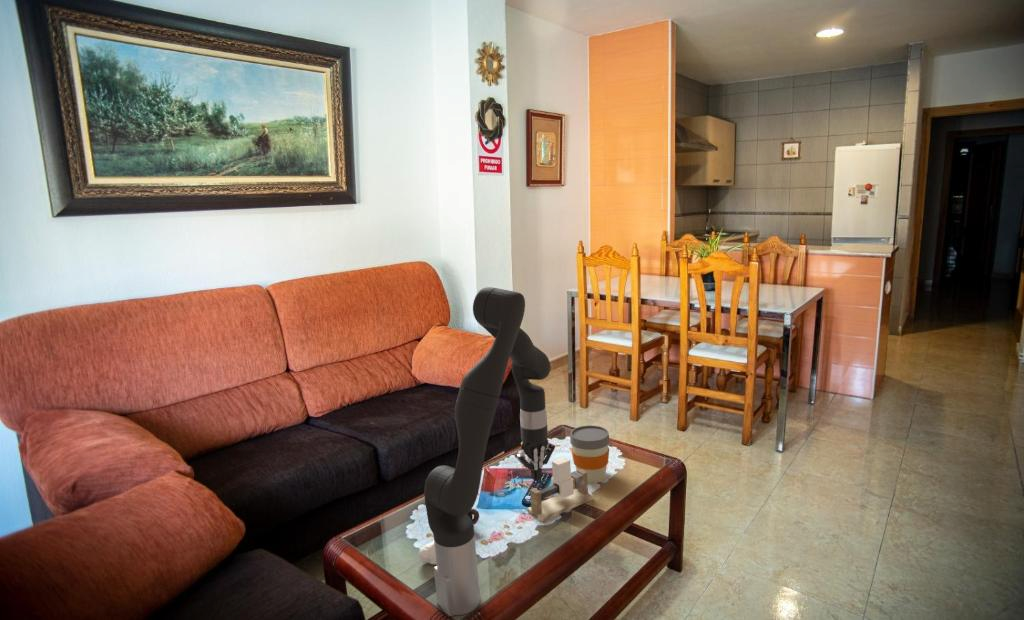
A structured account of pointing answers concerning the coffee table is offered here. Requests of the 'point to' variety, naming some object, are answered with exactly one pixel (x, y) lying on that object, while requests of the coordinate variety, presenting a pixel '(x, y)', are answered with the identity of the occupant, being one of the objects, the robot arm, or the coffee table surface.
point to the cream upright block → (562, 477)
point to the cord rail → (557, 504)
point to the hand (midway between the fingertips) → (536, 479)
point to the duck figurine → (428, 553)
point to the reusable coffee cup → (590, 451)
